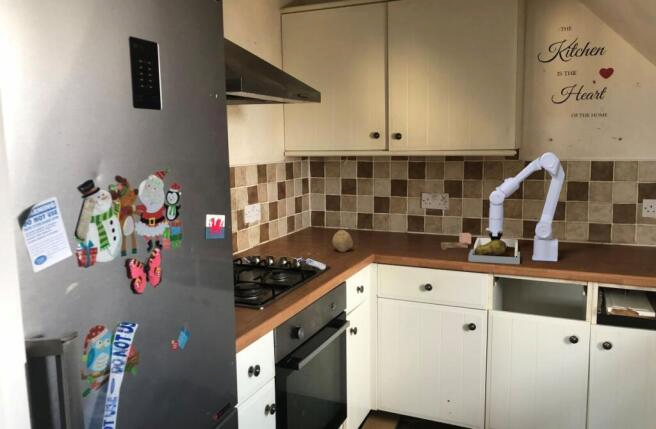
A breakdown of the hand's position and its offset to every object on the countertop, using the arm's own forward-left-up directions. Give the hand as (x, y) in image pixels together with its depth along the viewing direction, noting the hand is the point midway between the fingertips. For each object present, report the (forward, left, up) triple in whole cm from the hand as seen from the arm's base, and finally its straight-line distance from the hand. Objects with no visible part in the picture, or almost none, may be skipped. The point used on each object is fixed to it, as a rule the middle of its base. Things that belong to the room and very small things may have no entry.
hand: (495, 249), depth 237 cm
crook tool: (+18, -12, -3) cm, 22 cm away
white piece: (0, -12, -3) cm, 12 cm away
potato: (+2, +4, -3) cm, 6 cm away
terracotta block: (+15, -26, -3) cm, 30 cm away
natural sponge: (+66, +10, -3) cm, 67 cm away
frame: (0, +7, -3) cm, 8 cm away
